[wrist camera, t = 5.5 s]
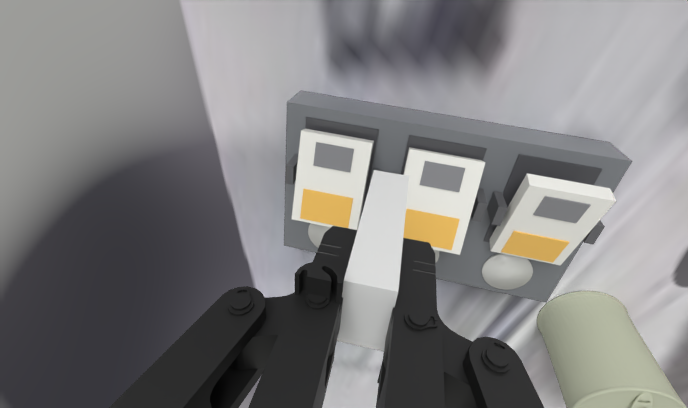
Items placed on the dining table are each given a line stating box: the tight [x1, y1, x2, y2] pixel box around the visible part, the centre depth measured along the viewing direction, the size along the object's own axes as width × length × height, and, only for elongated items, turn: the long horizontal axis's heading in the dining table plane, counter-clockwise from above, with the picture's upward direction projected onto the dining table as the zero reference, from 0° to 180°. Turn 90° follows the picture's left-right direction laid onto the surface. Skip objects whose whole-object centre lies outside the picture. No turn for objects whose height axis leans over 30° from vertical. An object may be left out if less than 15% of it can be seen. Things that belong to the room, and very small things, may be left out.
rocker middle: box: [403, 147, 485, 255], centre depth 30 cm, size 8×6×2 cm
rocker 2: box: [489, 173, 616, 265], centre depth 29 cm, size 8×6×2 cm
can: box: [537, 291, 687, 408], centre depth 36 cm, size 9×9×12 cm
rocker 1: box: [292, 129, 374, 230], centre depth 31 cm, size 8×6×2 cm
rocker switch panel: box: [284, 91, 632, 302], centre depth 34 cm, size 16×28×7 cm, turn 83°
